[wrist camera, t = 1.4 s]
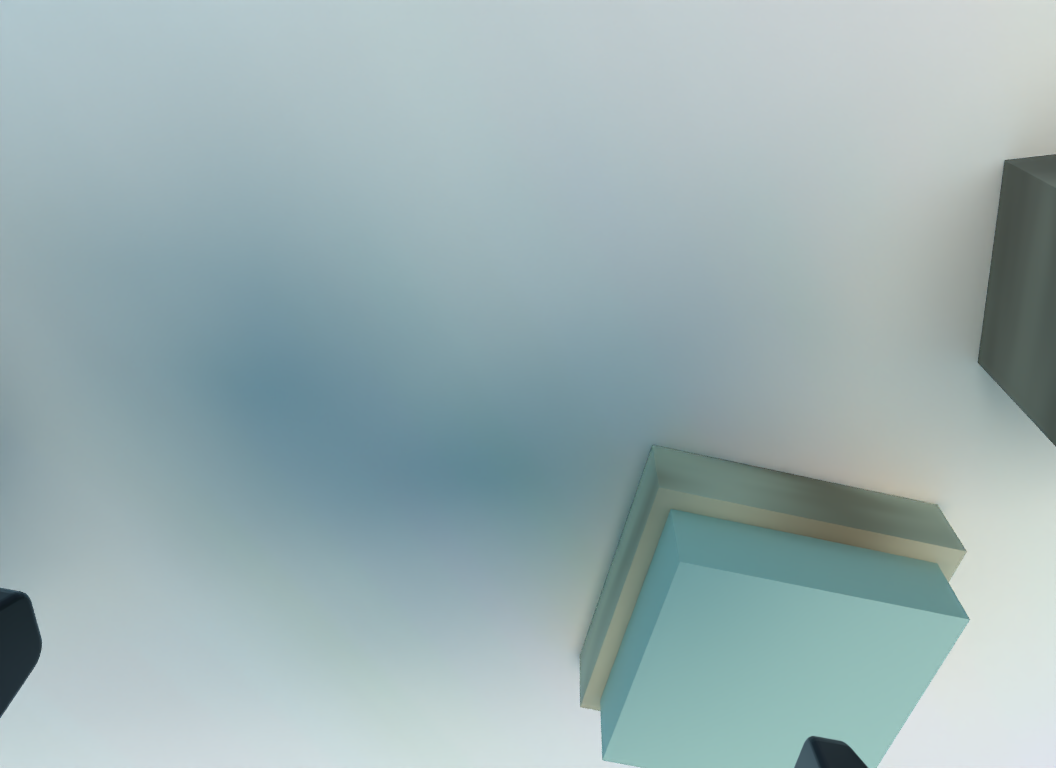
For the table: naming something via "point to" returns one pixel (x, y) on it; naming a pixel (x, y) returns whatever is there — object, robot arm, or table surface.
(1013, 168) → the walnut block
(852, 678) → the green slab
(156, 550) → the table surface
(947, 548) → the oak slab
